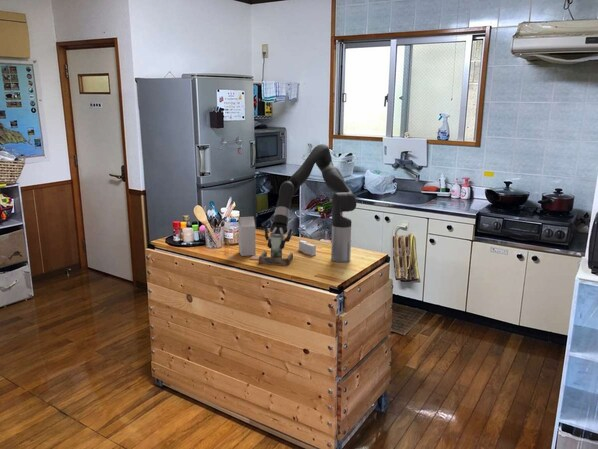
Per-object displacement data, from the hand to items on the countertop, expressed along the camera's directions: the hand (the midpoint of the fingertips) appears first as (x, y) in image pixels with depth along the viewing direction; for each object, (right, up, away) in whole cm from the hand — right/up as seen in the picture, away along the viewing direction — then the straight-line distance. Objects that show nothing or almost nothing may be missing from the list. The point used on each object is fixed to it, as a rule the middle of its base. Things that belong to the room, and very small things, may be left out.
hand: (275, 247), depth 235 cm
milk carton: (-15, -4, +14) cm, 21 cm away
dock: (0, -7, +3) cm, 7 cm away
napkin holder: (+15, -4, +19) cm, 25 cm away
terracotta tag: (-10, -5, +7) cm, 13 cm away
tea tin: (0, -5, +3) cm, 6 cm away
